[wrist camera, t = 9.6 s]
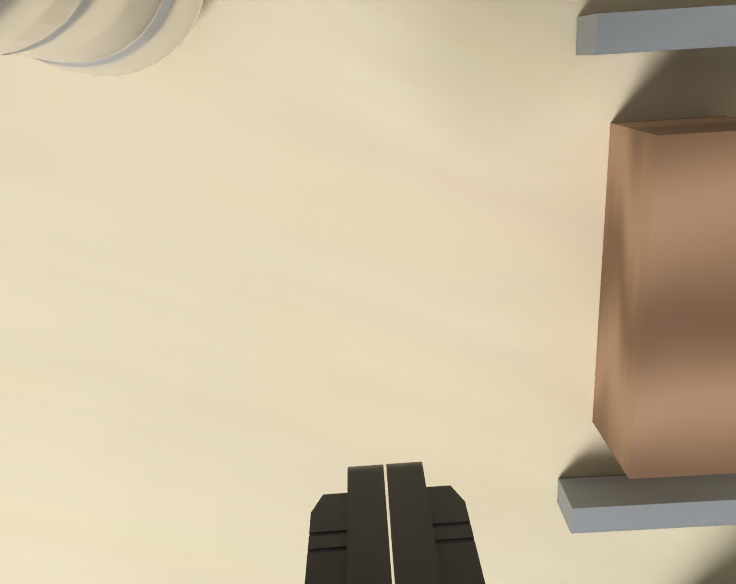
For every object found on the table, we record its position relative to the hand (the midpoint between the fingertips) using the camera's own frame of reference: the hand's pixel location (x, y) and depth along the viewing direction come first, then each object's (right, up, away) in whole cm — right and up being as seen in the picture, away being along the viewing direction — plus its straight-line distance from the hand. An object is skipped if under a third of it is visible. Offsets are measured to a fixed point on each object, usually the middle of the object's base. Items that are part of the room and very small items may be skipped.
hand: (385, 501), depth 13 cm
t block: (+15, +5, +12) cm, 19 cm away
